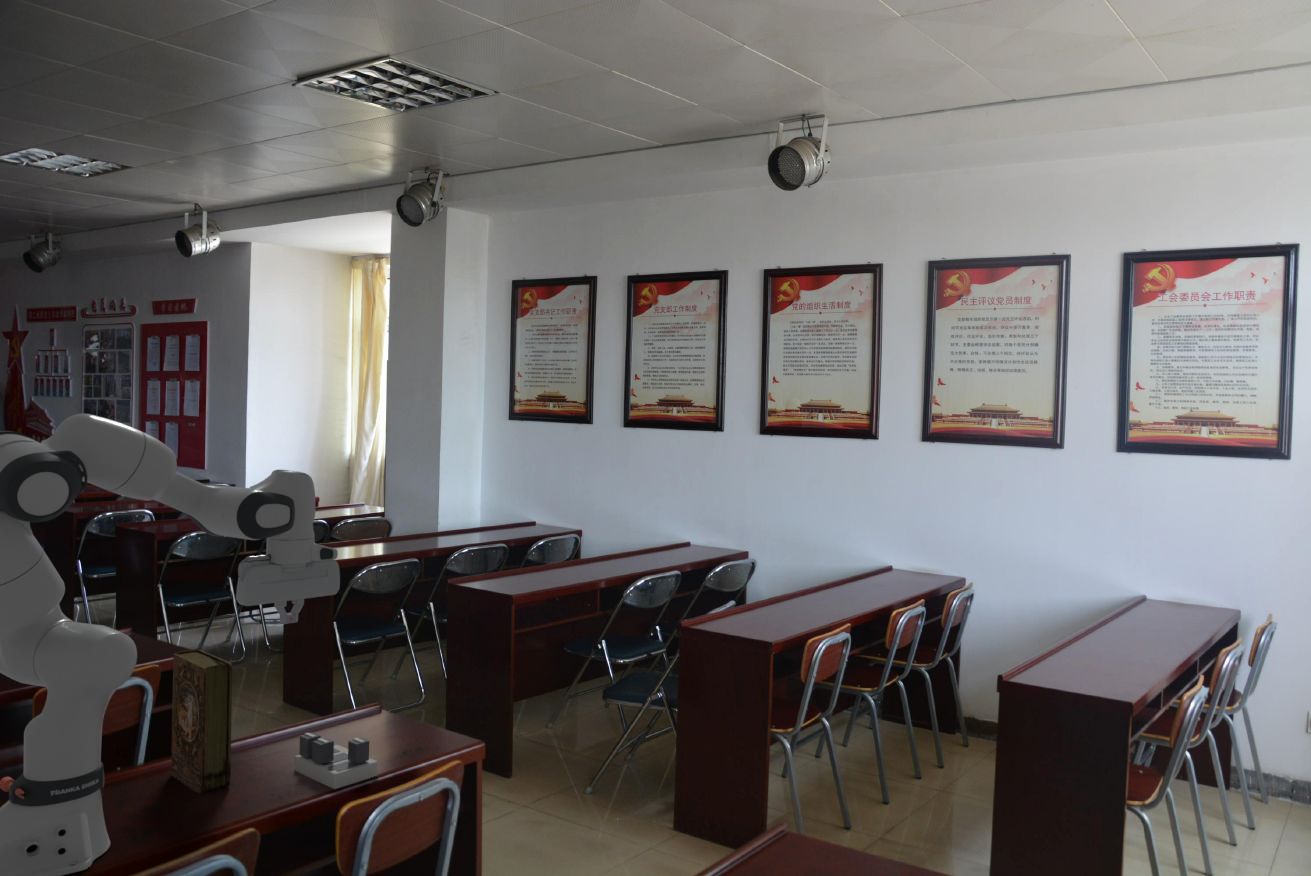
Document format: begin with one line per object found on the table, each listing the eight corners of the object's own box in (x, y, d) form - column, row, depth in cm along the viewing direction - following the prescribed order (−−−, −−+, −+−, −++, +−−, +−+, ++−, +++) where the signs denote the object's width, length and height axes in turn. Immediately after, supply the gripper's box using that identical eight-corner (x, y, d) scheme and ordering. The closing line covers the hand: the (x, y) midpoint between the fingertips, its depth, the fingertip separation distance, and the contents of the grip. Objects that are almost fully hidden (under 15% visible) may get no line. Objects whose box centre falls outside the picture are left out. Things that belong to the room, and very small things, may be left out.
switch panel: (334, 789, 190) (334, 773, 190) (294, 770, 199) (294, 755, 199) (377, 775, 197) (377, 760, 197) (336, 757, 207) (337, 743, 207)
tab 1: (307, 758, 197) (307, 737, 197) (299, 754, 199) (299, 734, 199) (320, 754, 199) (320, 734, 199) (312, 751, 201) (312, 731, 201)
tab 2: (356, 763, 195) (356, 743, 195) (347, 760, 196) (348, 739, 196) (368, 759, 197) (369, 739, 197) (360, 756, 199) (360, 736, 199)
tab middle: (320, 764, 194) (320, 743, 194) (312, 760, 196) (312, 740, 196) (333, 760, 196) (333, 739, 196) (325, 756, 198) (325, 736, 198)
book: (168, 773, 196) (170, 652, 195) (195, 766, 200) (198, 648, 199) (201, 796, 185) (204, 668, 184) (230, 788, 189) (232, 663, 188)
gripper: (247, 558, 176) (245, 633, 176) (345, 549, 192) (343, 618, 192) (230, 555, 180) (228, 628, 180) (327, 546, 196) (326, 613, 196)
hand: (288, 622), depth 186 cm, fingers closed
